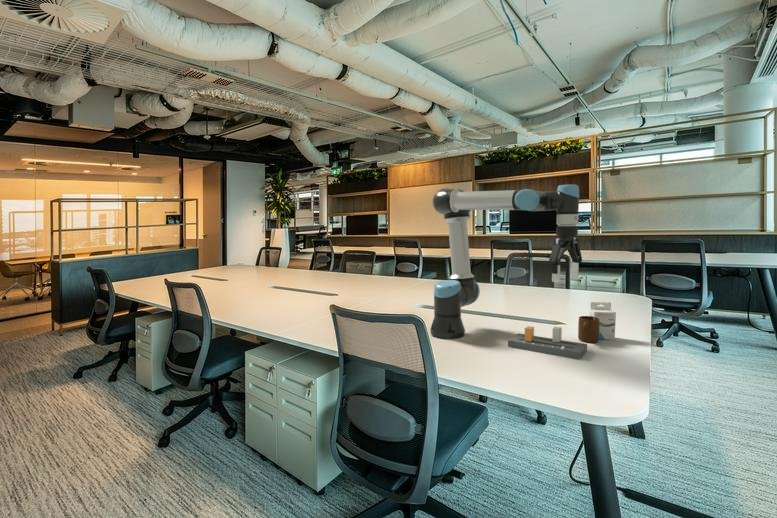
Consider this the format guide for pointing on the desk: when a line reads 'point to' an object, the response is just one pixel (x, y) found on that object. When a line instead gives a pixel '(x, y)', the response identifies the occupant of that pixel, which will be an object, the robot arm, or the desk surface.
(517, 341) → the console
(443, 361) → the desk surface
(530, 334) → the fader tab
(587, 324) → the mug
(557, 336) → the fader far
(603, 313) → the ink box
